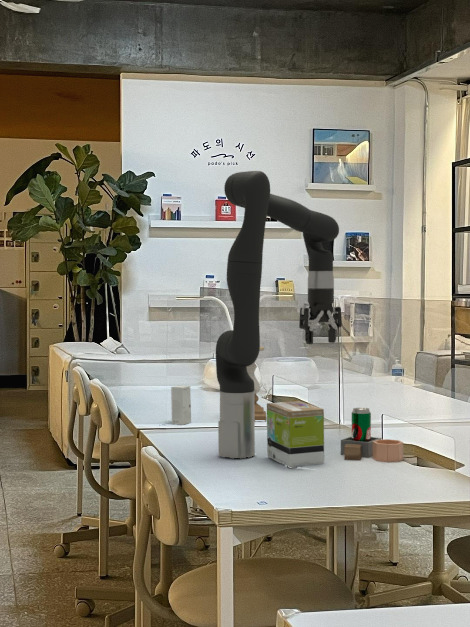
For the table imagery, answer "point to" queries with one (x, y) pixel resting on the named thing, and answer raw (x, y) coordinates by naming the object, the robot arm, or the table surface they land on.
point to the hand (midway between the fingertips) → (320, 343)
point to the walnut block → (352, 452)
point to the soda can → (361, 424)
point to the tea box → (295, 433)
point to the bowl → (388, 450)
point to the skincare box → (181, 404)
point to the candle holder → (256, 391)
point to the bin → (365, 446)
